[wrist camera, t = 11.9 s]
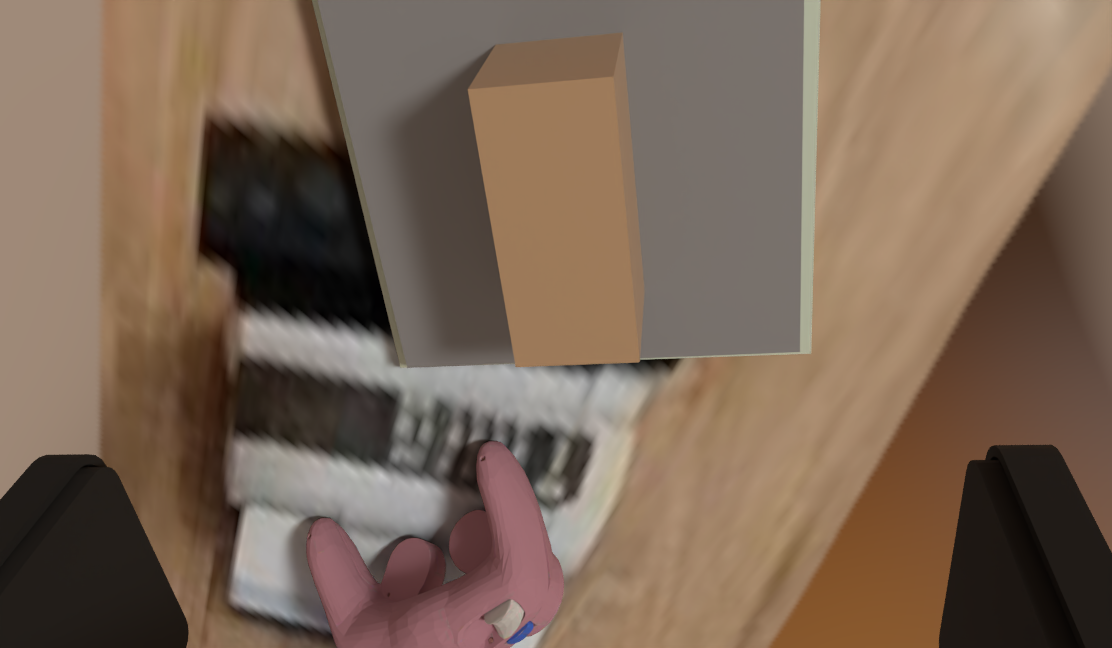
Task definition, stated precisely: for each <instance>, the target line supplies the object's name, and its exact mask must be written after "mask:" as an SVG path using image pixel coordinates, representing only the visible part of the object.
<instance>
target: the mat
mask: <svg viewBox="0 0 1112 648" xmlns="http://www.w3.org/2000/svg"><path fill="white" fill-rule="evenodd" d="M312 3H313V7H314V11H315V15H316V19H317V24H318V28H319V32H320V36H321V40H322V44H323V49H324V53H325V57H326V61H327V65H328V69H329V73H330V78H331V82H332V86H333V90H334V94H335V98H336V102H337V107H338V111H339V115H340V119H341V123H342V127H343V131H344V136H345V140H346V144H347V148H348V152H349V156H350V160H351V165H352V169H353V173H354V177H355V181H356V185H357V190H358V194H359V198H360V202H361V206H362V210H363V214H364V219H365V223H366V227H367V231H368V235H369V239H370V243H371V248H372V252H373V256H374V260H375V264H376V268H377V272H378V277H379V281H380V285H381V289H382V293H383V297H384V301H385V306H386V310H387V314H388V318H389V322H390V326H391V330H392V335H393V339H394V343H395V347H396V351H397V355H398V360H399V364H400V368H407V365H406V361H405V357H404V353H403V349H402V344H401V340H400V336H399V332H398V328H397V324H396V320H395V316H394V312H393V308H392V304H391V299H390V295H389V291H388V287H387V283H386V279H385V275H384V271H383V267H382V263H381V259H380V254H379V250H378V246H377V242H376V238H375V234H374V230H373V226H372V222H371V218H370V213H369V209H368V205H367V201H366V197H365V193H364V189H363V185H362V181H361V177H360V173H359V168H358V164H357V160H356V156H355V152H354V148H353V144H352V140H351V136H350V132H349V128H348V123H347V119H346V115H345V111H344V107H343V103H342V99H341V95H340V91H339V87H338V82H337V78H336V74H335V70H334V66H333V62H332V58H331V54H330V50H329V46H328V42H327V37H326V33H325V29H324V25H323V21H322V17H321V13H320V9H319V5H318V1H317V0H312ZM819 37H820V0H804V55H803V140H802V224H801V309H800V352H787V353H762V354H737V355H712V356H687V357H662V358H640V359H668V358H697V357H726V356H755V355H784V354H811V336H812V298H813V261H814V224H815V186H816V149H817V112H818V75H819ZM512 364H515V363H512ZM487 365H494V364H487ZM462 366H465V365H462Z"/></svg>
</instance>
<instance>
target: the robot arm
mask: <svg viewBox="0 0 1112 648" xmlns="http://www.w3.org/2000/svg"><path fill="white" fill-rule="evenodd" d="M187 642H188V624H187V621H186V618H185V616H184V614H183V612H182V609H181V607H180V605H179V603H178V601H177V599H176V597H175V595H174V593H173V590H172V588H171V586H170V584H169V582H168V580H167V578H166V576H165V574H164V571H163V569H162V567H161V565H160V563H159V561H158V559H157V557H156V554H155V552H154V550H153V548H152V546H151V544H150V542H149V540H148V538H147V535H146V533H145V531H144V529H143V527H142V525H141V523H140V521H139V519H138V516H137V514H136V512H135V510H134V508H133V506H132V504H131V502H130V499H129V497H128V495H127V493H126V491H125V489H124V487H123V485H122V483H121V480H120V478H119V476H118V475H117V473H116V472H115V470H113V469H112V468H110V467H107V466H106V465H105V463H104V462H103V461H102V459H100V458H99V457H97V456H96V455H87V454H85V455H45V456H42V457H39V458H38V459H37V460H35V461H34V462H33V463H32V464H31V465H30V466H29V467H28V469H27V470H26V471H25V472H24V473H23V474H22V475H21V476H20V478H19V479H18V480H17V481H16V482H15V483H14V485H13V486H12V487H11V488H10V489H9V490H8V491H7V493H6V494H5V495H4V496H3V497H2V499H0V648H186V646H187ZM939 648H1112V553H1111V551H1110V549H1109V547H1108V545H1107V543H1106V541H1105V539H1104V537H1103V535H1102V533H1101V531H1100V529H1099V527H1098V525H1097V523H1096V521H1095V519H1094V517H1093V516H1092V513H1091V512H1090V510H1089V508H1088V506H1087V504H1086V502H1085V500H1084V498H1083V496H1082V494H1081V492H1080V490H1079V488H1078V486H1077V484H1076V482H1075V480H1074V478H1073V476H1072V474H1071V472H1070V471H1069V469H1068V467H1067V465H1066V463H1065V461H1064V459H1063V457H1062V455H1061V453H1060V452H1059V451H1058V449H1057V448H1056V447H1054V446H1053V445H999V446H997V445H995V446H991V447H990V449H989V450H988V452H987V455H986V459H985V460H972V461H970V462H969V464H968V466H967V470H966V476H965V482H964V488H963V494H962V501H961V506H960V512H959V519H958V525H957V532H956V537H955V543H954V549H953V555H952V562H951V568H950V574H949V580H948V586H947V592H946V598H945V604H944V610H943V616H942V623H941V629H940V635H939Z"/></svg>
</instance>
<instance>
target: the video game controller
mask: <svg viewBox="0 0 1112 648" xmlns="http://www.w3.org/2000/svg"><path fill="white" fill-rule="evenodd" d="M476 470H477V483H478V486H479V490H480V493H481V496H482V500H483V503H484V507H485V510H486V512H485V511H482V510H474V511H471V512H469V513H467V514H466V515H464V516H463V517H462V518H461V519H460V520H459V521H458V522H457V523H456V525H455V526H454V528H453V530H452V532H451V535H450V540H449V551H450V555H451V558H452V560H453V562H454V564H455V565H456V566H457V567H458V568H459V569H460V570H461V571H463V572H464V573H466V575H464V576H462V577H460V578H458V579H455V580H453V581H451V582H448V583H446V584H444V585H442V584H443V581H444V577H445V570H446V564H445V558H444V555H443V553H442V551H441V549H440V548H439V547H438V546H436V545H434V544H432V543H430V542H427V541H425V540H422V539H419V538H410V539H406V540H404V541H403V542H401V543H399V544H398V545H397V546H396V548H395V549H394V550H393V552H392V554H391V556H390V559H389V561H388V564H387V568H386V571H385V574H384V577H383V580H382V582H381V584H379V583H378V582H377V581H376V580H375V579H374V578H373V577H372V575H371V573H370V572H369V570H368V569H367V567H366V565H365V563H364V561H363V559H362V557H361V555H360V553H359V552H358V550H357V548H356V546H355V544H354V543H353V542H352V540H351V539H350V537H349V536H348V535H347V533H346V532H345V530H344V529H343V528H342V527H341V526H340V525H338V524H337V523H336V522H334V521H333V520H332V519H330V518H320V519H318V520H316V521H315V522H314V523H313V524H312V526H311V528H310V530H309V533H308V536H307V543H306V553H307V560H308V565H309V568H310V571H311V574H312V577H313V580H314V583H315V586H316V588H317V591H318V594H319V596H320V599H321V602H322V605H323V607H324V610H325V613H326V616H327V619H328V622H329V626H330V629H331V632H332V635H333V638H334V641H335V644H336V646H337V648H510V647H511V646H512V645H514V644H515V643H517V642H520V641H521V640H523V639H524V638H525V637H527V636H532V635H534V634H536V633H537V632H539V631H541V630H542V629H543V628H544V627H545V626H547V625H548V624H549V623H550V621H551V620H552V619H553V617H554V616H555V614H556V613H557V611H558V608H559V606H560V604H561V601H562V596H563V589H564V579H563V572H562V568H561V565H560V563H559V560H558V559H557V558H556V556H555V555H554V554H553V552H552V549H551V544H550V541H549V538H548V534H547V531H546V527H545V524H544V521H543V517H542V514H541V511H540V507H539V505H538V502H537V499H536V497H535V494H534V492H533V489H532V487H531V485H530V482H529V480H528V478H527V476H526V474H525V472H524V470H523V469H522V467H521V466H520V464H519V463H518V461H517V460H516V458H515V457H514V455H513V454H512V453H511V452H510V451H509V450H508V449H507V448H506V447H505V445H503V444H502V443H501V442H497V441H489V442H486V443H484V444H483V445H482V446H481V447H480V450H479V453H478V456H477V464H476Z"/></svg>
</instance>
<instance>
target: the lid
mask: <svg viewBox="0 0 1112 648" xmlns="http://www.w3.org/2000/svg"><path fill="white" fill-rule="evenodd" d="M317 1H318V5H319V9H320V13H321V17H322V21H323V25H324V29H325V33H326V37H327V42H328V46H329V50H330V54H331V58H332V62H333V66H334V70H335V74H336V78H337V82H338V87H339V91H340V95H341V99H342V103H343V107H344V111H345V115H346V119H347V123H348V128H349V132H350V136H351V140H352V144H353V148H354V152H355V156H356V160H357V164H358V168H359V173H360V177H361V181H362V185H363V189H364V193H365V197H366V201H367V205H368V209H369V213H370V218H371V222H372V226H373V230H374V234H375V238H376V242H377V246H378V250H379V254H380V259H381V263H382V267H383V271H384V275H385V279H386V283H387V287H388V291H389V295H390V299H391V304H392V308H393V312H394V316H395V320H396V324H397V328H398V332H399V336H400V340H401V344H402V349H403V353H404V357H405V361H406V365H407V368H412V367H437V366H462V365H487V364H512V363H515V365H516V367H530V366H555V365H581V364H606V363H632V362H640V358H662V357H687V356H712V355H737V354H762V353H787V352H800V309H801V224H802V140H803V55H804V0H317Z"/></svg>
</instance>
